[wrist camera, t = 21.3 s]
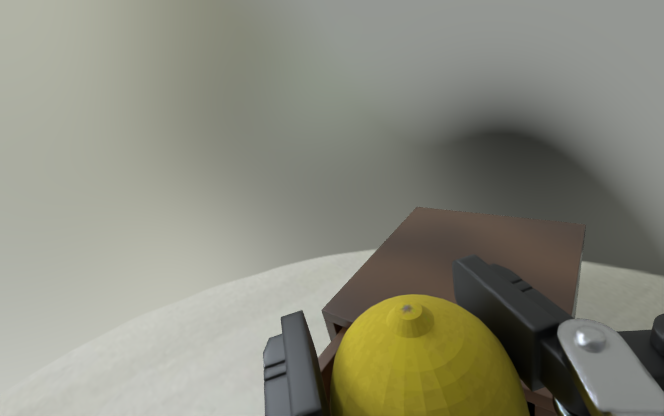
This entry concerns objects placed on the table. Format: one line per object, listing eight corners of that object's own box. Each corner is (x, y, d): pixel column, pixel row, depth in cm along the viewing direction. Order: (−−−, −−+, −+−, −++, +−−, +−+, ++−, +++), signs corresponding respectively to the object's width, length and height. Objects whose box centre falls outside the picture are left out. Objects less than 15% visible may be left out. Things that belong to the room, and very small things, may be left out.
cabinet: (545, 528, 18) (558, 401, 13) (352, 413, 25) (321, 310, 21) (572, 334, 27) (585, 224, 23) (427, 294, 35) (416, 206, 31)
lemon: (394, 387, 15) (363, 237, 12) (536, 445, 12) (548, 262, 9) (327, 525, 11) (253, 357, 8) (514, 669, 8) (520, 484, 5)
